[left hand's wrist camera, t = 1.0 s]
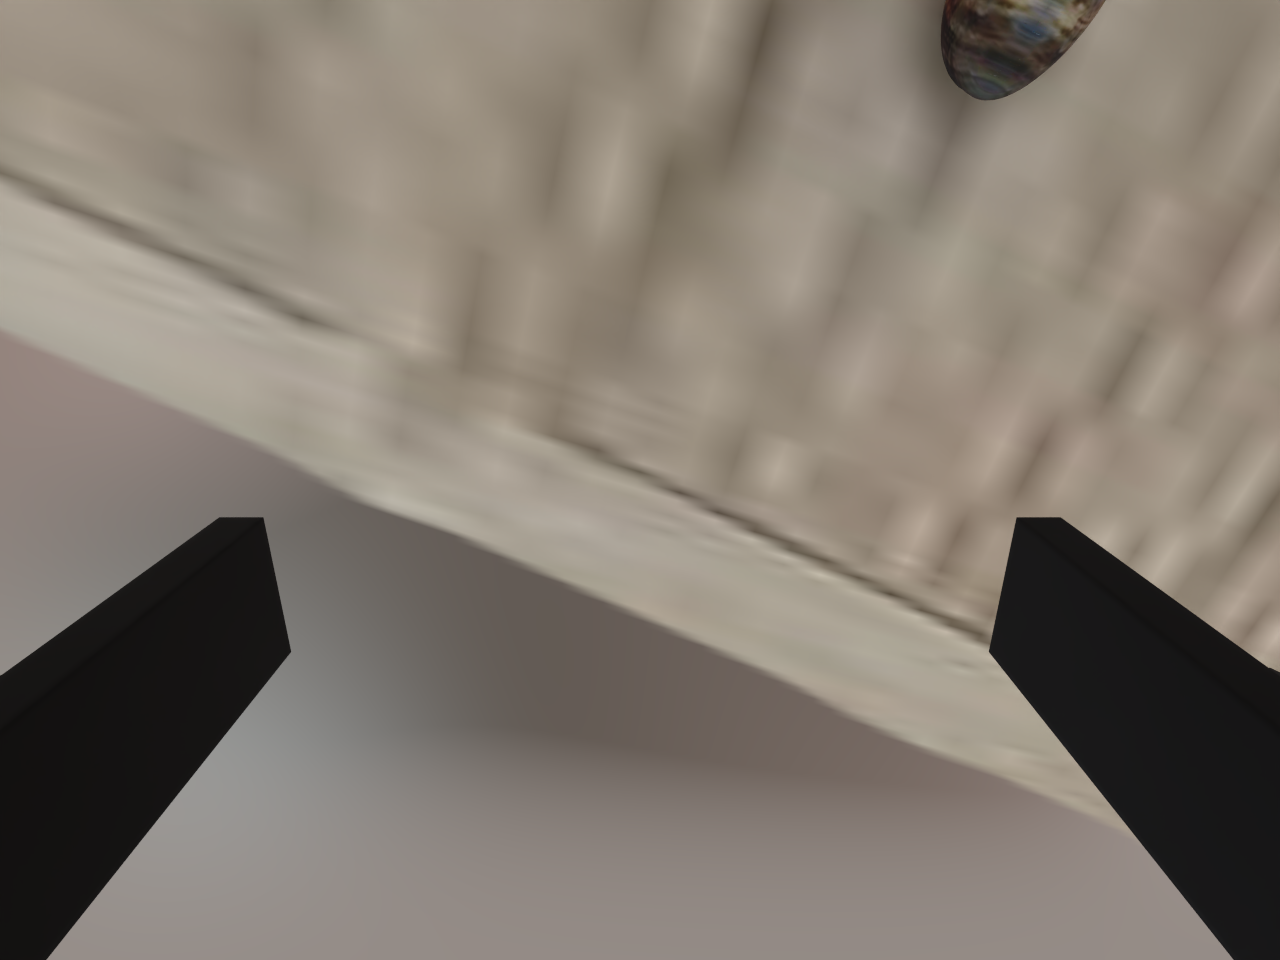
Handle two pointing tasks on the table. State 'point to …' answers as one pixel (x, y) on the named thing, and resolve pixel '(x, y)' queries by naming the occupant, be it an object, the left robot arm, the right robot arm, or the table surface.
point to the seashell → (1008, 40)
